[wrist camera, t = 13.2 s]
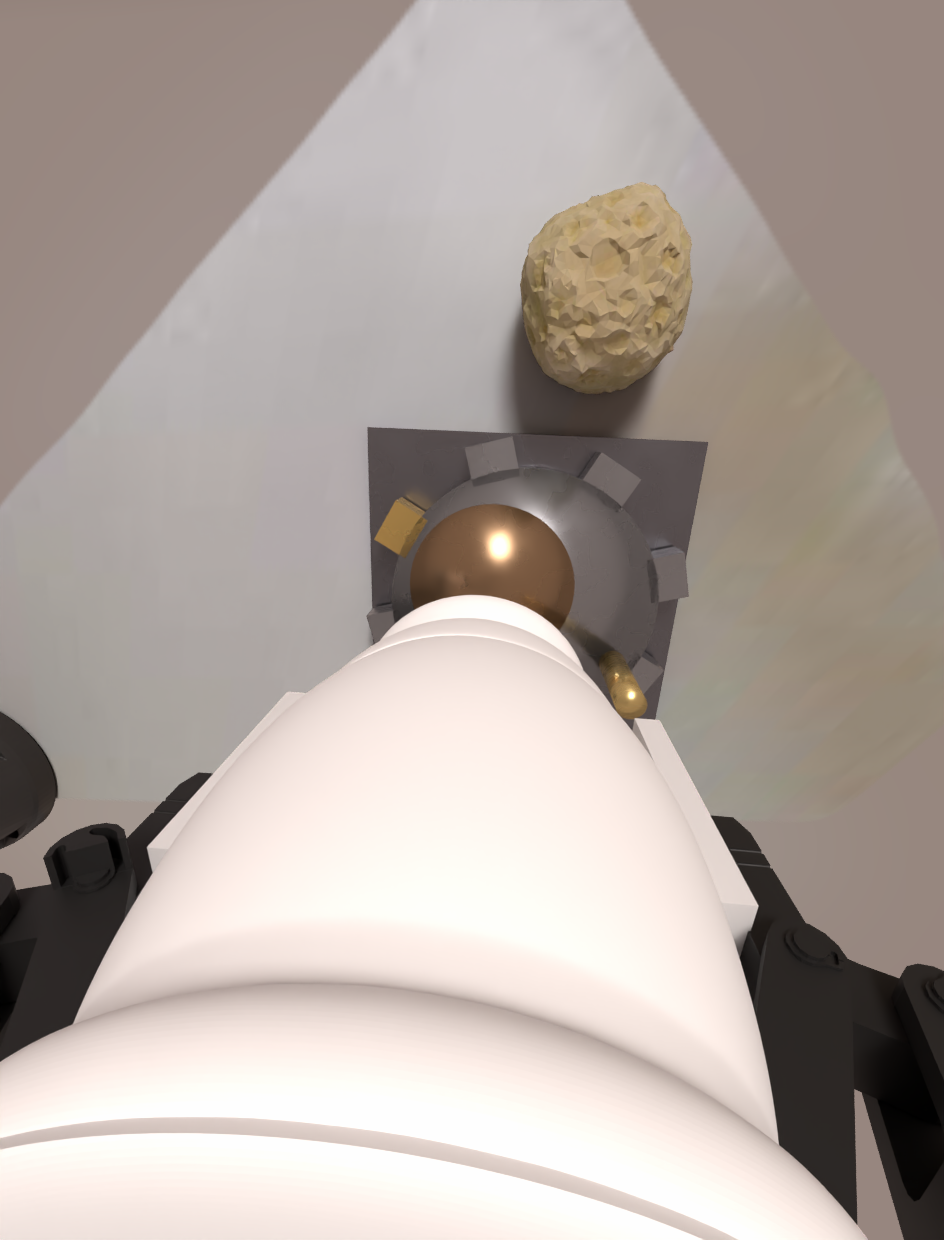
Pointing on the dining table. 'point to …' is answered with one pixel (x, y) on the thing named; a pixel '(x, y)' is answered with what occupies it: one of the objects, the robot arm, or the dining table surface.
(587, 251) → the decorative object
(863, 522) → the dining table surface
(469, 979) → the jar
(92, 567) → the dining table surface
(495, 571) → the sprocket
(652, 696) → the base plate
